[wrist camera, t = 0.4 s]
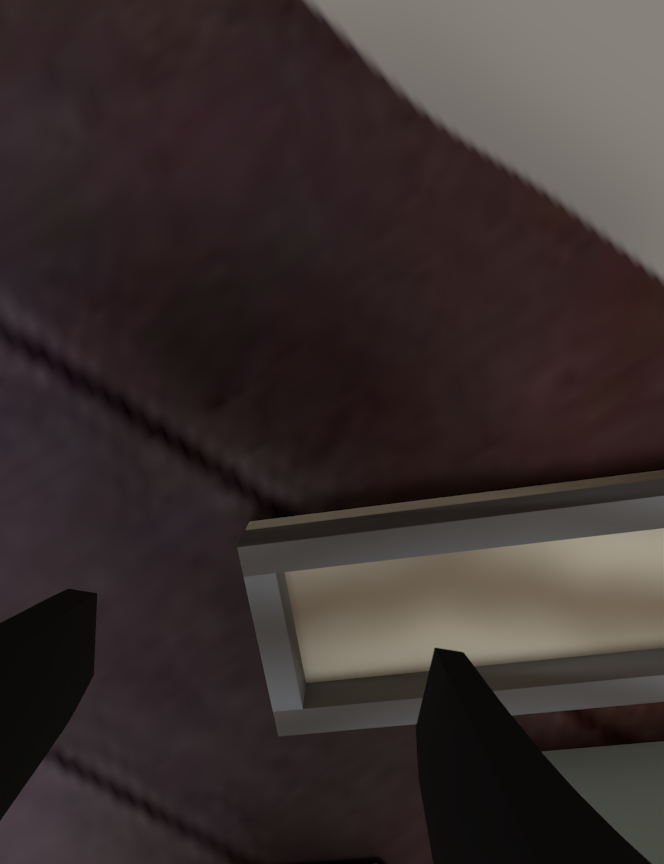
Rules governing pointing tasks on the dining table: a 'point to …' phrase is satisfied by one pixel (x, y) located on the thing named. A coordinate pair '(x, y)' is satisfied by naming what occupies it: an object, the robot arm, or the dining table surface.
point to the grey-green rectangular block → (621, 789)
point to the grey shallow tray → (462, 601)
